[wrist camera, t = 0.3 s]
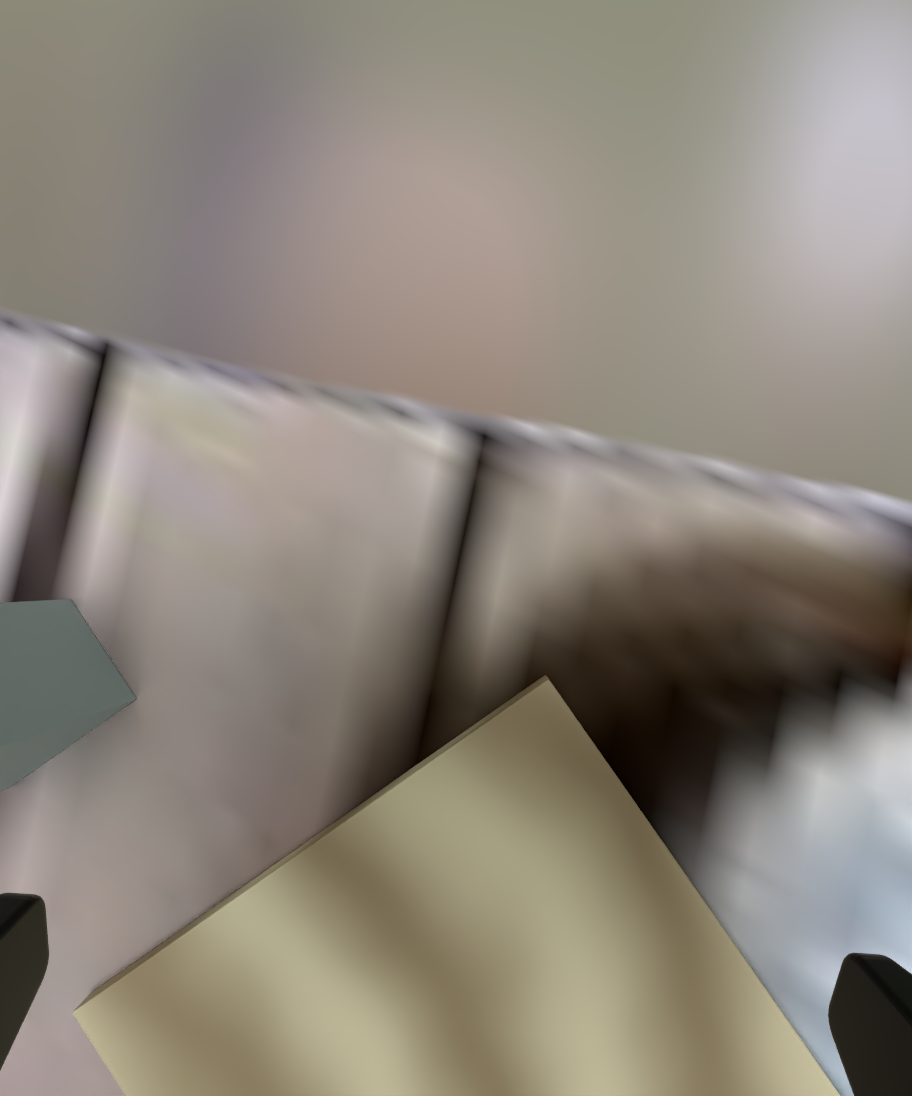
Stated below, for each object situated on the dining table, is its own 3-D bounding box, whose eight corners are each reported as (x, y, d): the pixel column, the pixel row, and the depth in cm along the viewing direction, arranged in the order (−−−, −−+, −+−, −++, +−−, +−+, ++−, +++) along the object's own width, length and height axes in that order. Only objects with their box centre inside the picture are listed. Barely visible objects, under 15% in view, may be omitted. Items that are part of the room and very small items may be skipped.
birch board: (369, 1429, 22) (364, 1471, 21) (90, 992, 22) (72, 1012, 21) (843, 1099, 22) (860, 1124, 21) (545, 674, 22) (548, 679, 21)
